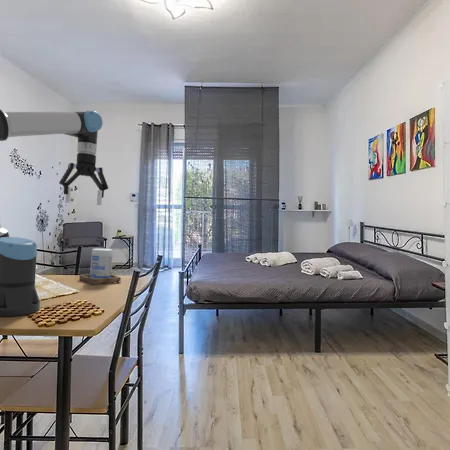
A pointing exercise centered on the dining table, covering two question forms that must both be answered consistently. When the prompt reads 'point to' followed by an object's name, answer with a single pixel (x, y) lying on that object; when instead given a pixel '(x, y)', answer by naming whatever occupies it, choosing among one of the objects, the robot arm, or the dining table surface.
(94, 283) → the well tray
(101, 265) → the supplement tub
